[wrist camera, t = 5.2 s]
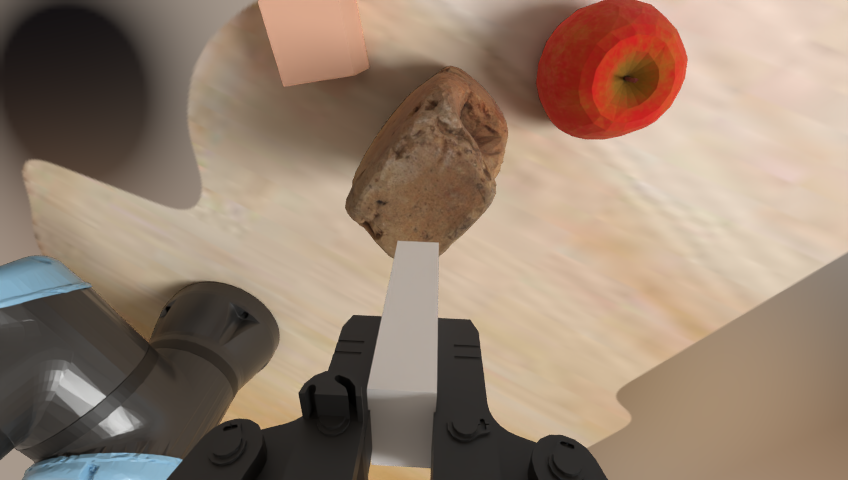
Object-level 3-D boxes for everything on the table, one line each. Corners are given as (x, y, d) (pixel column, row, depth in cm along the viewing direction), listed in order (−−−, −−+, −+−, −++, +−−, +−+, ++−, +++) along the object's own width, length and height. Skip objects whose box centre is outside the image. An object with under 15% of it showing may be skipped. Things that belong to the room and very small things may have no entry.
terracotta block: (309, 77, 37) (283, 86, 31) (290, 5, 34) (257, 0, 28) (369, 67, 37) (355, 75, 30) (355, -6, 34) (335, -14, 28)
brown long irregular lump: (426, 181, 42) (414, 290, 24) (373, 133, 39) (317, 216, 22) (501, 105, 38) (552, 170, 20) (446, 47, 35) (449, 64, 18)
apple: (674, 30, 34) (762, 30, 25) (606, 144, 39) (657, 180, 30) (565, -19, 33) (614, -38, 23) (509, 106, 38) (531, 132, 28)
